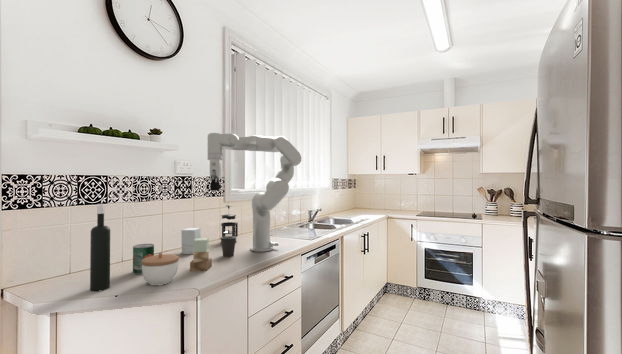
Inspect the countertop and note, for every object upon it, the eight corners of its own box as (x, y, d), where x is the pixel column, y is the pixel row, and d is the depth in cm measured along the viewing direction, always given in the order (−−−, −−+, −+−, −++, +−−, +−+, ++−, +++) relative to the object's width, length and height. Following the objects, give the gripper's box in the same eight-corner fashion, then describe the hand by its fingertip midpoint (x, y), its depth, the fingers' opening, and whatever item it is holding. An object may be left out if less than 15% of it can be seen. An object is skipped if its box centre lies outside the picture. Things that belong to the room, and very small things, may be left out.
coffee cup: (216, 255, 154) (217, 236, 155) (230, 253, 160) (230, 234, 161) (225, 258, 149) (225, 238, 149) (239, 255, 155) (239, 236, 155)
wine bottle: (87, 289, 107) (87, 204, 107) (105, 284, 112) (105, 203, 112) (94, 292, 104) (95, 204, 104) (113, 287, 109) (113, 203, 109)
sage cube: (208, 249, 135) (208, 238, 135) (206, 251, 130) (206, 240, 130) (196, 249, 134) (196, 238, 135) (193, 252, 130) (194, 240, 130)
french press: (226, 245, 180) (226, 206, 180) (216, 243, 186) (216, 205, 186) (241, 241, 190) (241, 205, 190) (231, 240, 195) (232, 204, 195)
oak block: (207, 257, 136) (207, 248, 136) (208, 261, 130) (208, 251, 130) (193, 259, 134) (193, 249, 134) (193, 262, 128) (193, 252, 128)
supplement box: (201, 251, 165) (201, 227, 165) (194, 254, 158) (194, 230, 158) (188, 250, 166) (188, 227, 166) (180, 254, 158) (181, 229, 158)
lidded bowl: (176, 286, 110) (176, 255, 110) (137, 290, 106) (137, 258, 106) (180, 276, 122) (180, 248, 122) (145, 278, 118) (145, 250, 119)
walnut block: (211, 266, 136) (211, 257, 136) (206, 271, 129) (206, 262, 129) (195, 267, 135) (195, 258, 136) (190, 271, 128) (190, 262, 129)
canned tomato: (134, 270, 130) (134, 244, 130) (154, 268, 133) (154, 242, 133) (131, 275, 123) (131, 248, 123) (153, 273, 126) (153, 246, 126)
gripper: (221, 156, 149) (220, 190, 149) (224, 158, 166) (224, 189, 166) (205, 155, 148) (204, 190, 147) (209, 158, 165) (209, 189, 164)
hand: (215, 190), depth 157 cm, fingers open, 9 cm apart
